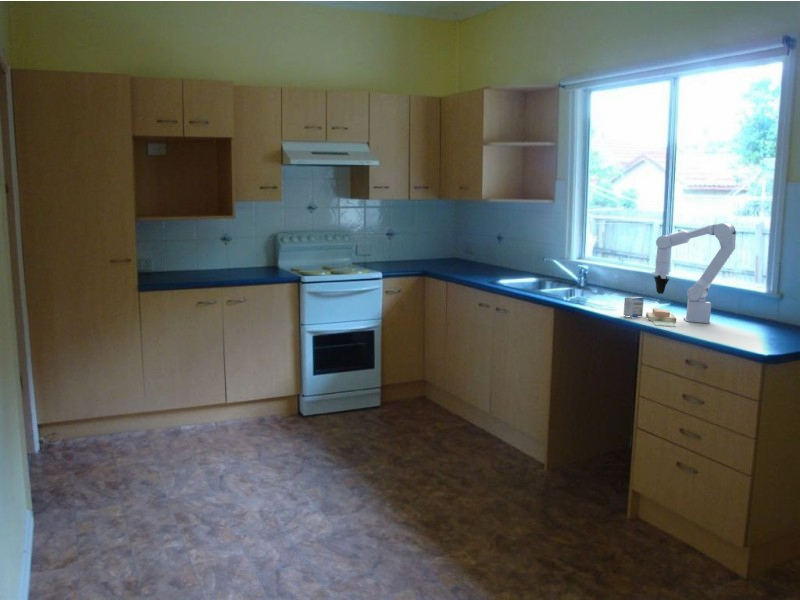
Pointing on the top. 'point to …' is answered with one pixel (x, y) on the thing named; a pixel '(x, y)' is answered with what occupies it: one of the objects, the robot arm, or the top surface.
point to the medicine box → (633, 306)
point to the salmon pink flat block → (661, 312)
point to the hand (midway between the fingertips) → (659, 292)
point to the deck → (661, 318)
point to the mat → (664, 323)
